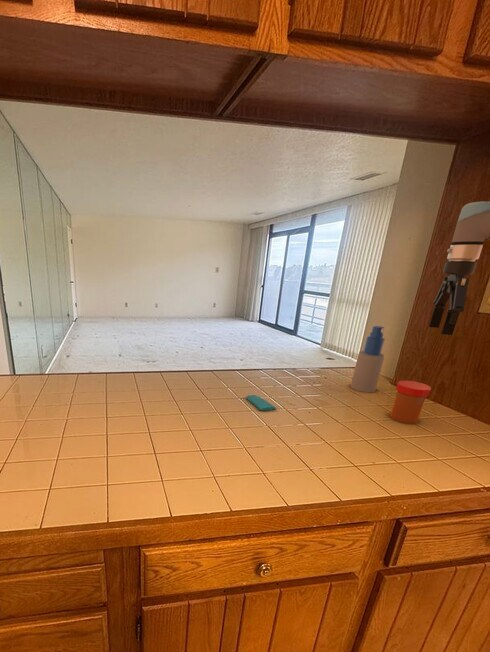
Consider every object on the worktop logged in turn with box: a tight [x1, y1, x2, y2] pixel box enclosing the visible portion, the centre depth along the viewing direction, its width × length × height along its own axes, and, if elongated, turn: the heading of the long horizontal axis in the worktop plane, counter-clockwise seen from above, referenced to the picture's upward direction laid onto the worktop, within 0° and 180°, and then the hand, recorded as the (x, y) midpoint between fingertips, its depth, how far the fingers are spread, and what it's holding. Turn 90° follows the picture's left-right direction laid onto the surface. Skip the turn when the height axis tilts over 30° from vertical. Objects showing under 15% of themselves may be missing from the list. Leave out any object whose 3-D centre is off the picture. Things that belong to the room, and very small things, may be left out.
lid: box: [395, 380, 432, 397], centre depth 110 cm, size 9×9×2 cm
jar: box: [389, 390, 427, 425], centre depth 112 cm, size 8×8×11 cm
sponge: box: [246, 394, 276, 411], centre depth 123 cm, size 2×12×6 cm
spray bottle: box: [350, 325, 385, 393], centre depth 136 cm, size 9×9×25 cm
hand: (439, 330), depth 113 cm, fingers open, 13 cm apart
